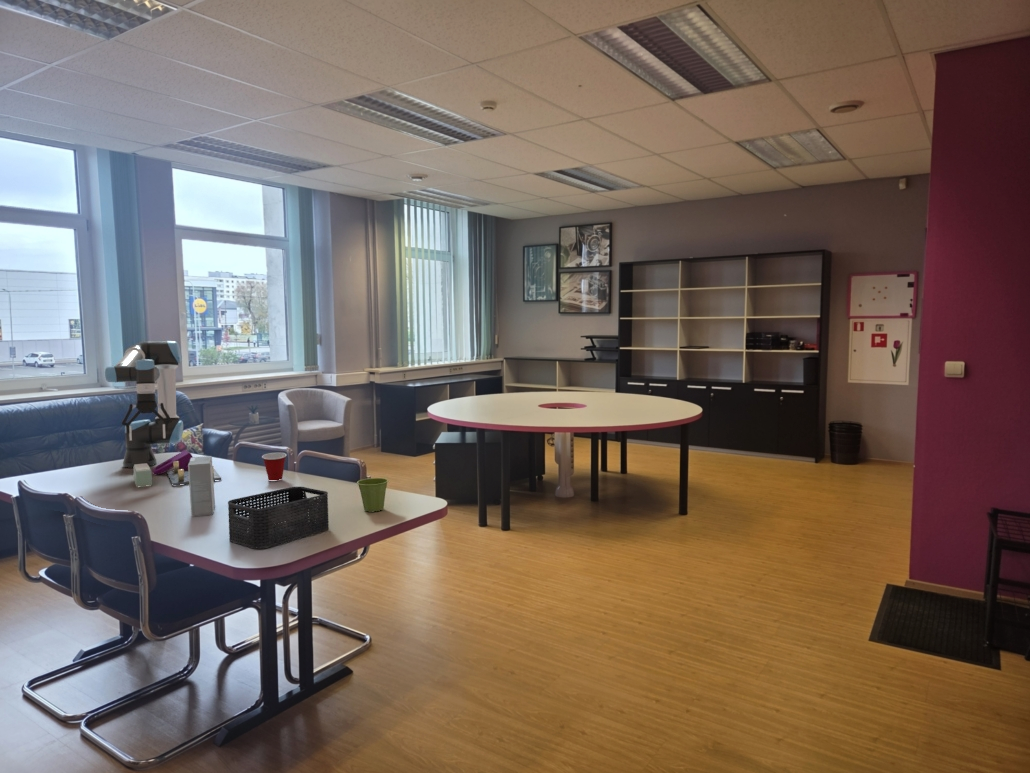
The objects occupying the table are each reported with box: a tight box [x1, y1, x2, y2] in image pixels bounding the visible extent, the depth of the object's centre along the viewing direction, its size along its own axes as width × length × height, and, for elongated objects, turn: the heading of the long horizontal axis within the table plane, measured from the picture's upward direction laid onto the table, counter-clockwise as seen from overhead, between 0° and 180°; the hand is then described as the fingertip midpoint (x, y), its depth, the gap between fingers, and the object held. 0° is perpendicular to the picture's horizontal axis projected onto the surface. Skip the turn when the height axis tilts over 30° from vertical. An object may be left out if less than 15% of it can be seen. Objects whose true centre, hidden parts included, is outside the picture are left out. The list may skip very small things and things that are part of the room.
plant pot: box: [356, 477, 389, 513], centre depth 254 cm, size 12×12×11 cm
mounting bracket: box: [151, 449, 193, 475], centre depth 329 cm, size 9×8×18 cm
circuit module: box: [132, 463, 153, 488], centre depth 304 cm, size 16×6×8 cm, turn 33°
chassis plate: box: [166, 461, 222, 486], centre depth 315 cm, size 30×20×6 cm, turn 32°
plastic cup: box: [261, 452, 288, 481], centre depth 307 cm, size 11×11×12 cm
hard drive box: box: [188, 455, 216, 518], centre depth 255 cm, size 16×8×20 cm, turn 22°
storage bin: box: [227, 486, 330, 550], centre depth 224 cm, size 29×19×13 cm
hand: (147, 439), depth 307 cm, fingers open, 13 cm apart
